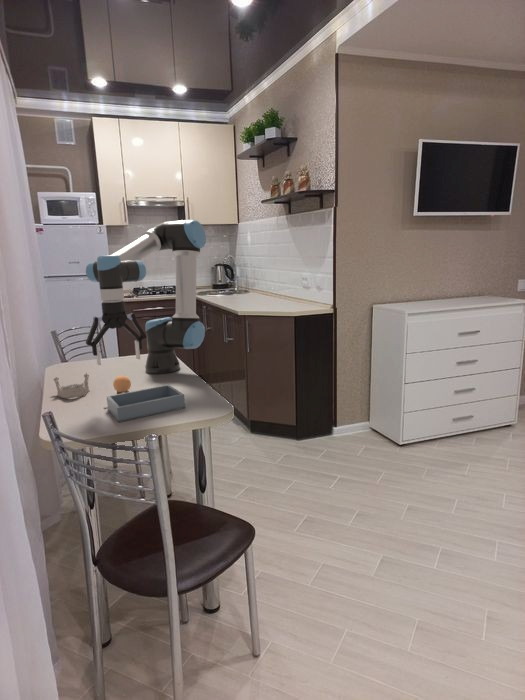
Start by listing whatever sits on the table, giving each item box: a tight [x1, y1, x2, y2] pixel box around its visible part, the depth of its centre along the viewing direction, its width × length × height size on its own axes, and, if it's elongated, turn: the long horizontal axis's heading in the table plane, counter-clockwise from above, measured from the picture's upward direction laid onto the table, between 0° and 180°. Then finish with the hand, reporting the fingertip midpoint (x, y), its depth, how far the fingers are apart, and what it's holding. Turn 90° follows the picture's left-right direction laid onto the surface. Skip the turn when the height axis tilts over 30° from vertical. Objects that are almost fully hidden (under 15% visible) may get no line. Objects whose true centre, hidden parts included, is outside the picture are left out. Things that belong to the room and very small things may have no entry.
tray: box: [106, 384, 186, 423], centre depth 154 cm, size 22×15×5 cm
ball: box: [113, 375, 132, 393], centre depth 163 cm, size 6×6×6 cm
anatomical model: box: [52, 372, 91, 400], centre depth 173 cm, size 13×11×10 cm
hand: (119, 361), depth 161 cm, fingers open, 13 cm apart
